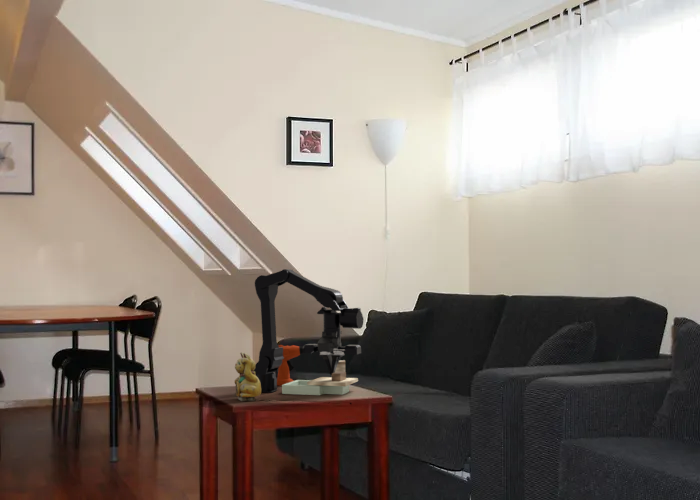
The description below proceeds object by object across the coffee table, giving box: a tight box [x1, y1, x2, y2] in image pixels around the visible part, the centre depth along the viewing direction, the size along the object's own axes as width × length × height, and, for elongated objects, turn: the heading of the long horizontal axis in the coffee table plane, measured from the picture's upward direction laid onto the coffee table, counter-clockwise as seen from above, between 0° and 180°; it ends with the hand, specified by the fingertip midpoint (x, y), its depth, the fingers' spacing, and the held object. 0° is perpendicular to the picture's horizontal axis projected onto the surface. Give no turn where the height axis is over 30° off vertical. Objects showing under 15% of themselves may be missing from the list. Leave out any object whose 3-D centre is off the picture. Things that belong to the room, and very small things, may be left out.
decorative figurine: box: [234, 352, 262, 402], centre depth 273 cm, size 10×8×15 cm
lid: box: [307, 371, 359, 386], centre depth 282 cm, size 13×14×4 cm
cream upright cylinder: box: [335, 359, 346, 372], centre depth 296 cm, size 4×4×10 cm
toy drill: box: [276, 344, 305, 387], centre depth 310 cm, size 5×19×15 cm, turn 92°
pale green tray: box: [281, 379, 350, 396], centre depth 283 cm, size 20×14×4 cm
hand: (332, 375), depth 282 cm, fingers closed
